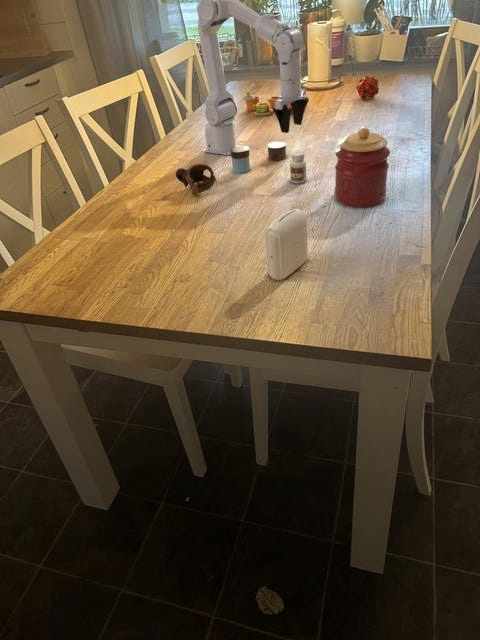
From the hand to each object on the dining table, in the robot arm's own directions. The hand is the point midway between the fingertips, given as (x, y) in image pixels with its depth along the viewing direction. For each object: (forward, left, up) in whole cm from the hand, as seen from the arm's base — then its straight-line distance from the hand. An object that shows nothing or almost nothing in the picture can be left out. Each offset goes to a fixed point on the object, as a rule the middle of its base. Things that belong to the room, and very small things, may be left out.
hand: (291, 128), depth 146 cm
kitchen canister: (+29, -16, -10) cm, 35 cm away
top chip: (-11, -11, -6) cm, 17 cm away
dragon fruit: (-5, +73, -10) cm, 73 cm away
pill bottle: (+9, -12, -10) cm, 18 cm away
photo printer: (+29, -54, -10) cm, 62 cm away
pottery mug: (-15, -28, -10) cm, 34 cm away
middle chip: (-6, +2, -8) cm, 10 cm away
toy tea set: (-33, +47, -10) cm, 58 cm away
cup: (-11, -11, -10) cm, 19 cm away
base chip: (-6, +2, -10) cm, 12 cm away
